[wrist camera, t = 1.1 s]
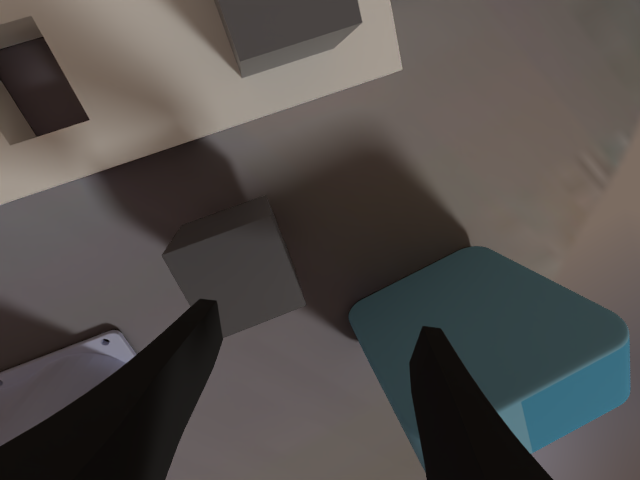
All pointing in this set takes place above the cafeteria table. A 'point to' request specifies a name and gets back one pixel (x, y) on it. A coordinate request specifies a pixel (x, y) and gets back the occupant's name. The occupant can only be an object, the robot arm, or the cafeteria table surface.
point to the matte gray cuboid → (236, 265)
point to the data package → (500, 343)
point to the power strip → (179, 73)
